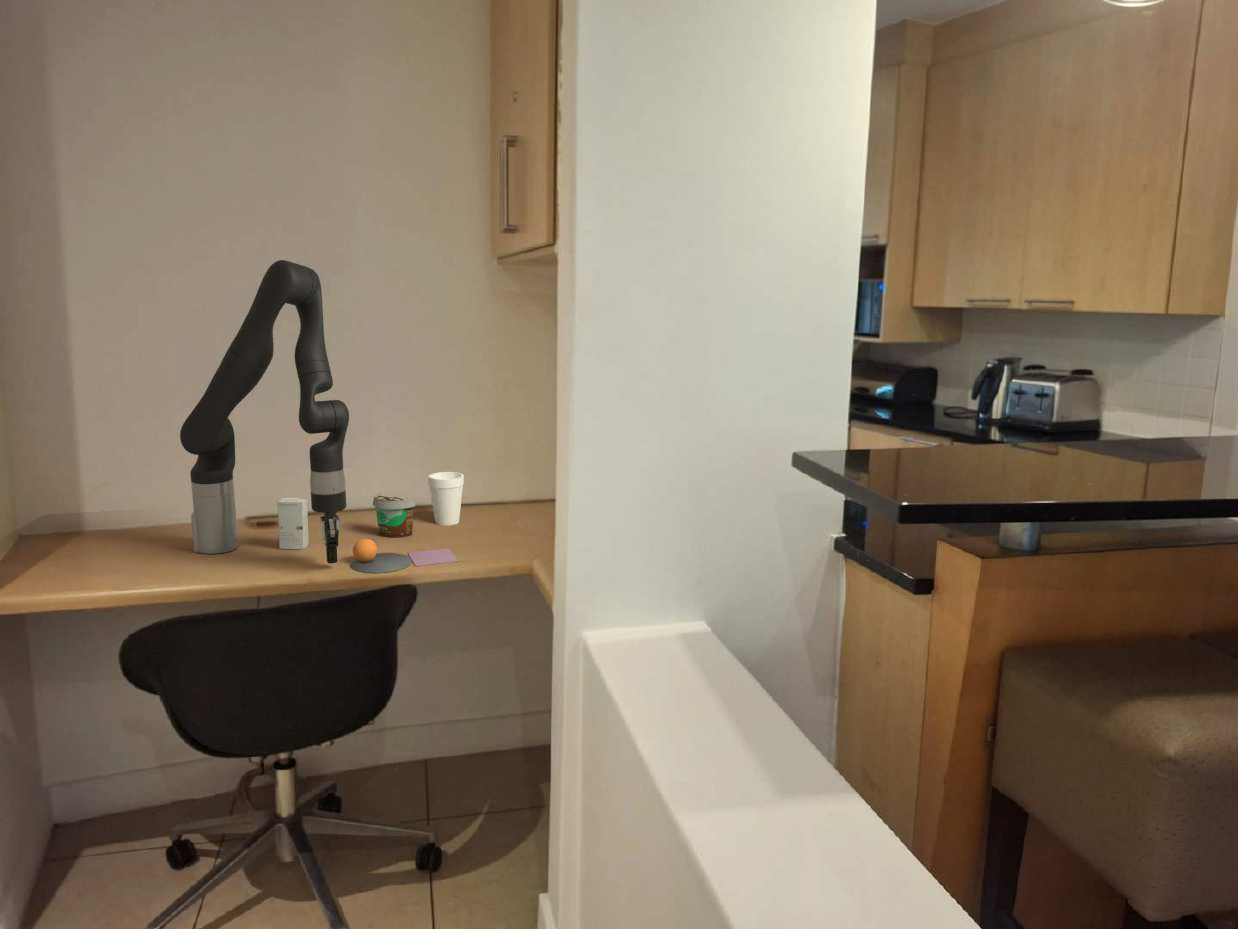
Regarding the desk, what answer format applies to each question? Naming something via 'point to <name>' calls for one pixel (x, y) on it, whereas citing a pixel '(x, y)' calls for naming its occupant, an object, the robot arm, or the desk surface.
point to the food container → (394, 516)
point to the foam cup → (446, 496)
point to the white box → (293, 523)
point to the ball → (364, 550)
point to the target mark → (382, 563)
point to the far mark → (432, 557)
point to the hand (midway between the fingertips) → (332, 562)
